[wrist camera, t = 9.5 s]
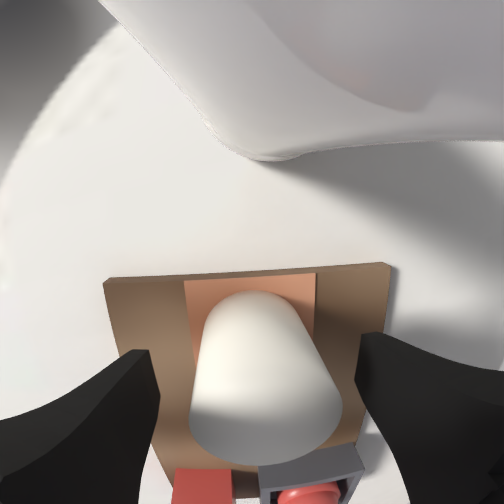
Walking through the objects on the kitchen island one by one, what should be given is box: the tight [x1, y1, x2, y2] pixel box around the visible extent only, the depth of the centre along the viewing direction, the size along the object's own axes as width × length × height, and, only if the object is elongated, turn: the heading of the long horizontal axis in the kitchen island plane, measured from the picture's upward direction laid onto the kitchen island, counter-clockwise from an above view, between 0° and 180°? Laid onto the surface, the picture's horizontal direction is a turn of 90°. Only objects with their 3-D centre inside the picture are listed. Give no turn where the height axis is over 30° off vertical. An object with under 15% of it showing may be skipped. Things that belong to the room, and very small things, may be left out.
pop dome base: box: [257, 442, 365, 504], centre depth 13 cm, size 6×6×2 cm
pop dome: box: [276, 481, 341, 504], centre depth 11 cm, size 4×4×3 cm
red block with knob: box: [171, 468, 236, 504], centre depth 12 cm, size 3×3×4 cm
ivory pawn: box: [189, 290, 343, 466], centre depth 9 cm, size 4×4×5 cm
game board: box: [103, 262, 391, 499], centre depth 13 cm, size 17×12×1 cm
